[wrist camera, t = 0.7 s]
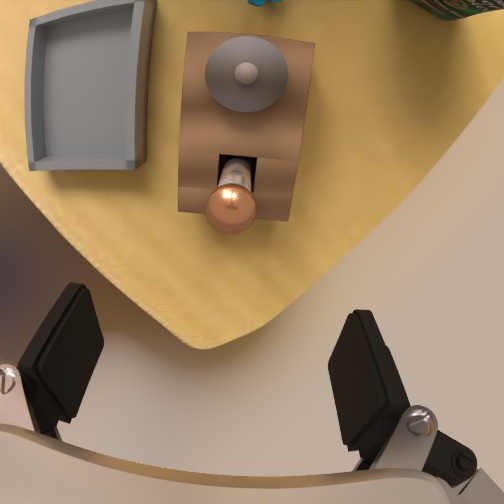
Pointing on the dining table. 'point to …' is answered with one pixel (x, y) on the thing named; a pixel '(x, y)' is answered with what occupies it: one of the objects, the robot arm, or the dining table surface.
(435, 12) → the coffee jar
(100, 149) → the tray
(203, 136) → the tensioner block
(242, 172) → the pin
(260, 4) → the gear
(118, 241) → the dining table surface
